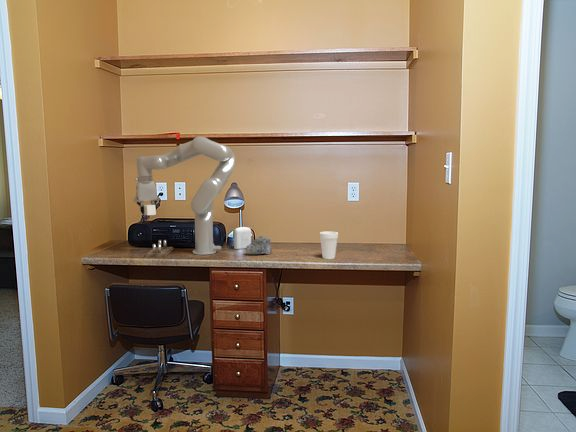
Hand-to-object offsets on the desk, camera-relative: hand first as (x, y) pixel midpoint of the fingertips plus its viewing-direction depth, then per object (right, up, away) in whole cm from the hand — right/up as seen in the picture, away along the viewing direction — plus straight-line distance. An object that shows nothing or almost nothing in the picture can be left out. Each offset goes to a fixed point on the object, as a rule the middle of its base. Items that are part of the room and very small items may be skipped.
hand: (147, 213), depth 242 cm
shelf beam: (0, -1, 0) cm, 1 cm away
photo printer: (+50, -20, +15) cm, 56 cm away
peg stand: (+6, -22, +1) cm, 23 cm away
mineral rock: (+60, -22, -1) cm, 64 cm away
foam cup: (+97, -23, -11) cm, 100 cm away
